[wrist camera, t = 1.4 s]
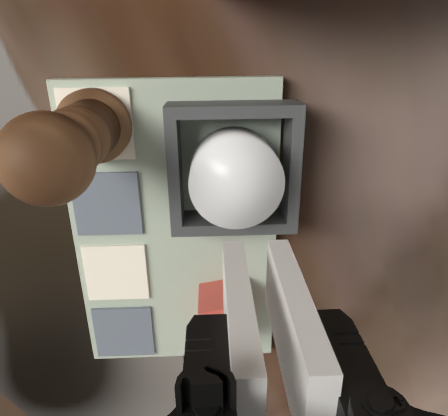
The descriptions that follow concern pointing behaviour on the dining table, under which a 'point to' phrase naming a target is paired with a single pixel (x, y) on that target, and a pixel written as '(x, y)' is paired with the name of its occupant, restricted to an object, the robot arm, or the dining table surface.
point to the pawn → (62, 146)
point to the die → (211, 298)
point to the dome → (235, 178)
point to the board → (172, 208)
